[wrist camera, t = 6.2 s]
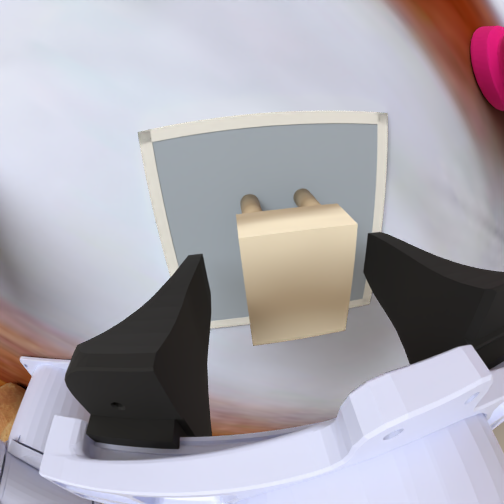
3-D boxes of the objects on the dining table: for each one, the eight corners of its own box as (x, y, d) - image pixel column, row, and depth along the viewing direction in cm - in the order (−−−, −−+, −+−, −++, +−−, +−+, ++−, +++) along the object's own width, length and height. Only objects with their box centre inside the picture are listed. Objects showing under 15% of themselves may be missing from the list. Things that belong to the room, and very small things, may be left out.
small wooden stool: (233, 190, 13) (238, 237, 9) (315, 182, 14) (357, 223, 9) (244, 278, 16) (253, 345, 12) (315, 268, 16) (345, 330, 12)
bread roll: (55, 393, 22) (36, 454, 15) (74, 439, 28) (65, 484, 22) (-11, 361, 20) (-35, 413, 13) (20, 416, 26) (7, 457, 19)
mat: (367, 300, 18) (369, 304, 18) (187, 325, 18) (187, 330, 17) (383, 112, 12) (387, 113, 12) (140, 131, 12) (137, 132, 11)
